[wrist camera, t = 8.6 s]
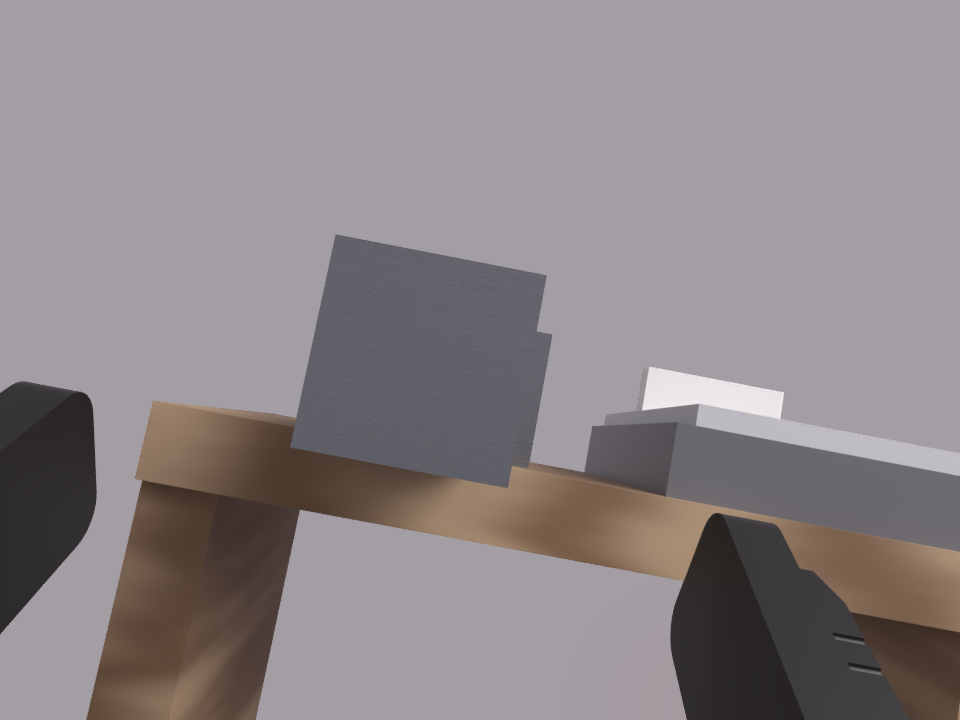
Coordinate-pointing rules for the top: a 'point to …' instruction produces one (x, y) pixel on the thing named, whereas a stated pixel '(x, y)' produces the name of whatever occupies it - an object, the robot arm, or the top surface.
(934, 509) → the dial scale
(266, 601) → the oak shelf
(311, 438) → the block
